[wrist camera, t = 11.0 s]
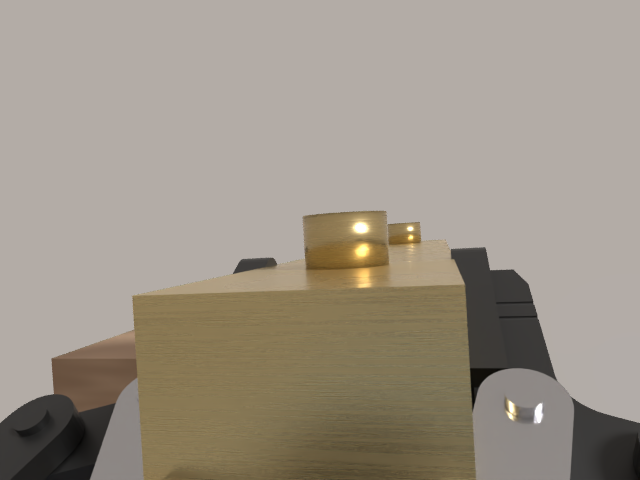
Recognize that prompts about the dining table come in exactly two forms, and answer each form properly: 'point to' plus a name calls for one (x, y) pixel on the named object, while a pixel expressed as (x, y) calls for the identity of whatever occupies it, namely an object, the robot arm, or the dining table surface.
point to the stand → (96, 372)
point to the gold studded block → (312, 364)
